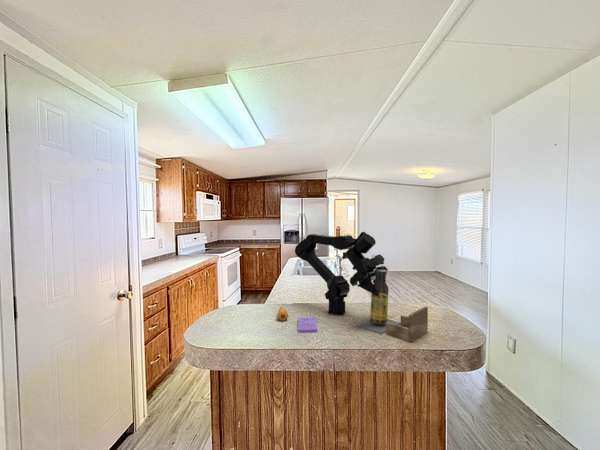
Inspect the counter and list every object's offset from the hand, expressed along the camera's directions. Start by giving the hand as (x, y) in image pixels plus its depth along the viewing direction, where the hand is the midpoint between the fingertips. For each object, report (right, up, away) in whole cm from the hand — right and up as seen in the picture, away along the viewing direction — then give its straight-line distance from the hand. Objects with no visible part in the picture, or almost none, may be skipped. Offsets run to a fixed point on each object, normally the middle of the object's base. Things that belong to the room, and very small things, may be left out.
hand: (382, 293), depth 113 cm
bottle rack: (+6, -13, -6) cm, 15 cm away
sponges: (-28, -13, +1) cm, 31 cm away
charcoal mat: (-1, -12, +1) cm, 12 cm away
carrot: (-38, -12, +16) cm, 43 cm away
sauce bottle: (-1, -11, +2) cm, 11 cm away
